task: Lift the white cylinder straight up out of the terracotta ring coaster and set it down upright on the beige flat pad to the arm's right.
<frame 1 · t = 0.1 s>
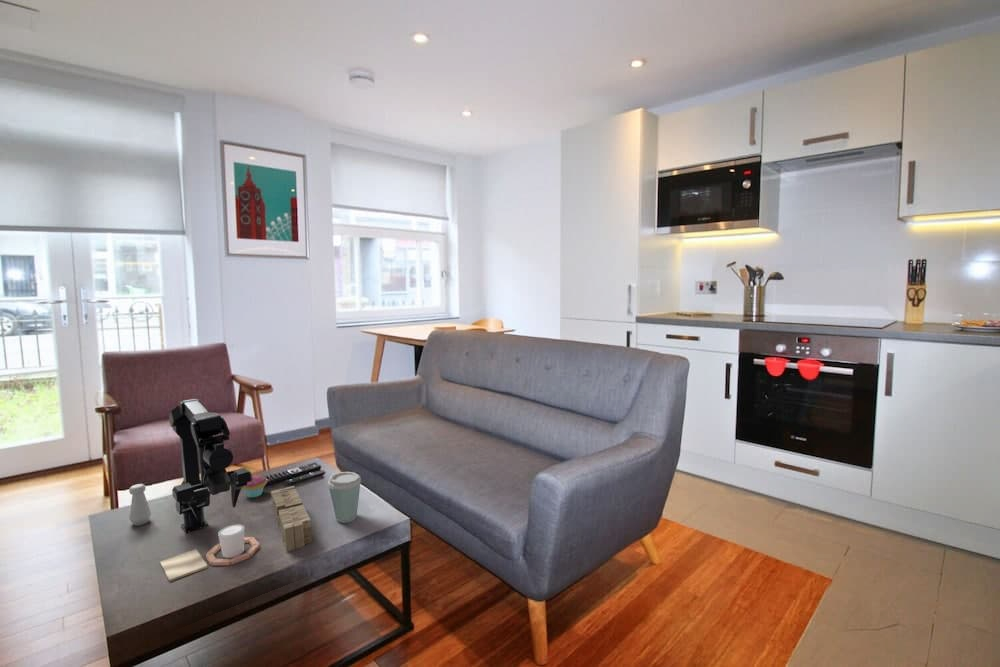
hand: (216, 512, 138), 15 cm above the table, fingers open, 9 cm apart
salt shaker: (141, 523, 163), on the table
white cylinder: (233, 552, 144), resting in ring coaster
cupcake: (255, 495, 182), on the table
beige flat pad: (183, 565, 138), on the table
disposable coffee cup: (346, 519, 163), on the table
ring coaster: (233, 552, 144), on the table
block tower: (291, 528, 158), on the table
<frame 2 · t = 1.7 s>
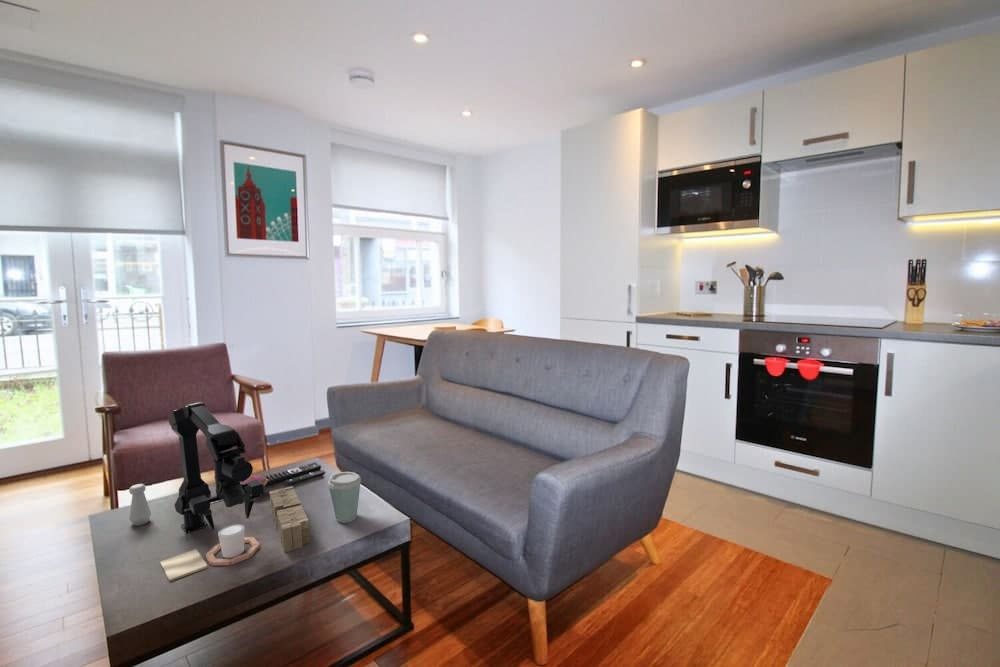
hand: (230, 523, 143), 9 cm above the table, fingers open, 9 cm apart
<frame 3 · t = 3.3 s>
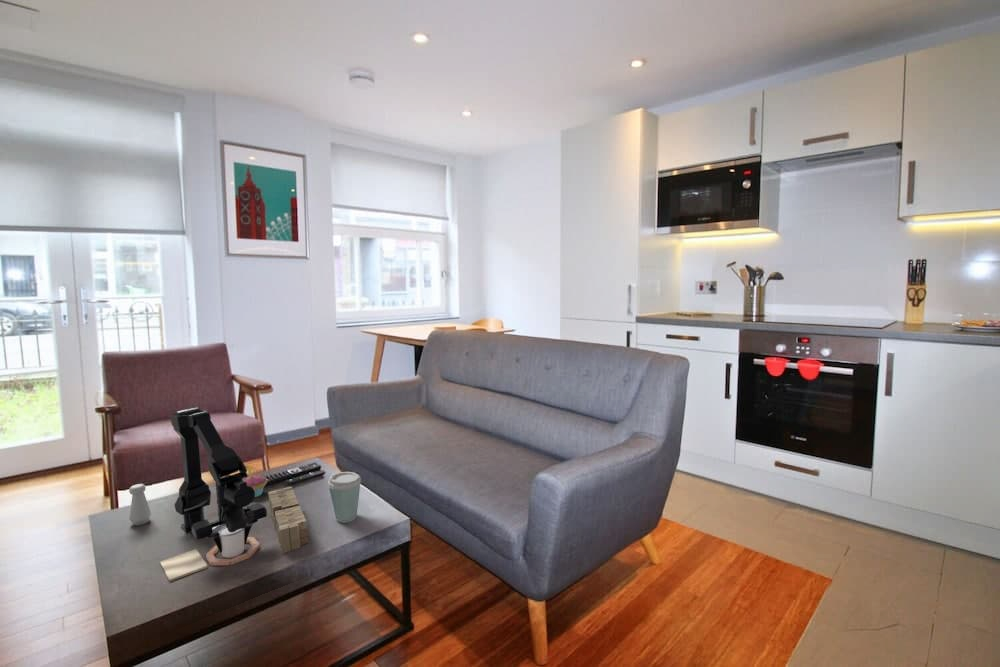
hand: (232, 547, 144), 2 cm above the table, fingers closed on white cylinder, 6 cm apart
white cylinder: (233, 552, 144), resting in ring coaster, touching gripper
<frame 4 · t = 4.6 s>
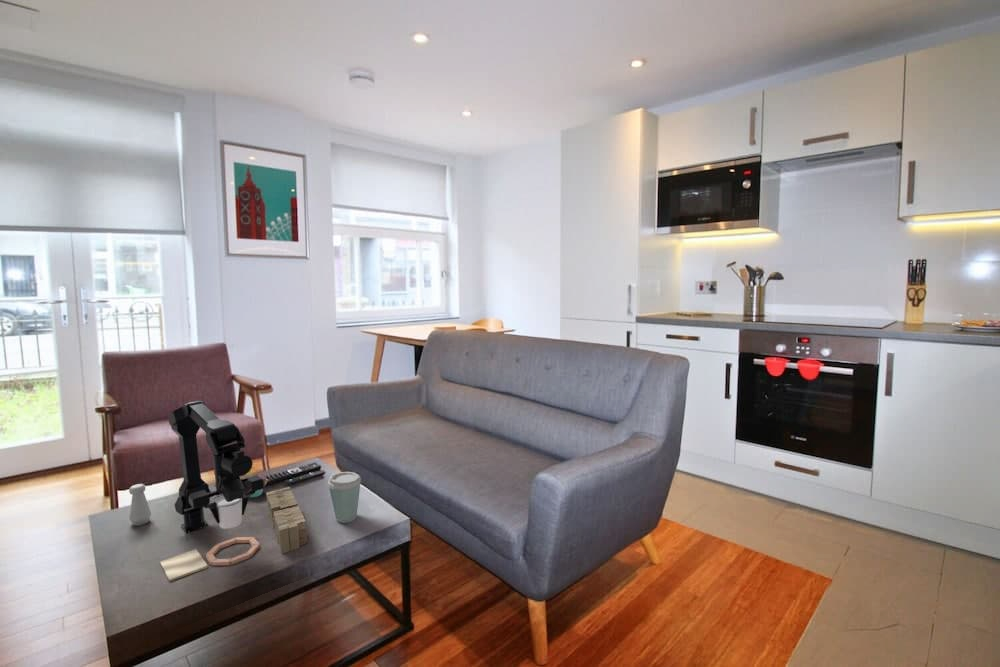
hand: (230, 518, 143), 10 cm above the table, fingers closed on white cylinder, 6 cm apart
white cylinder: (231, 524, 143), point 9 cm above the table, touching gripper
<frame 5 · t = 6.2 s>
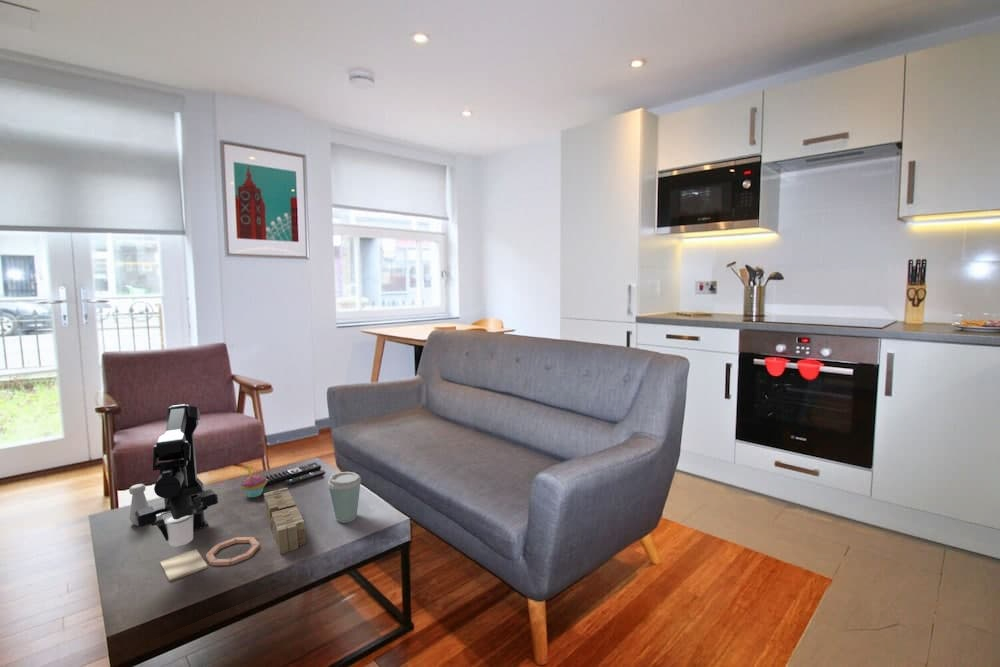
hand: (180, 535, 137), 9 cm above the table, fingers closed on white cylinder, 6 cm apart
white cylinder: (181, 541, 137), point 7 cm above the table, touching gripper
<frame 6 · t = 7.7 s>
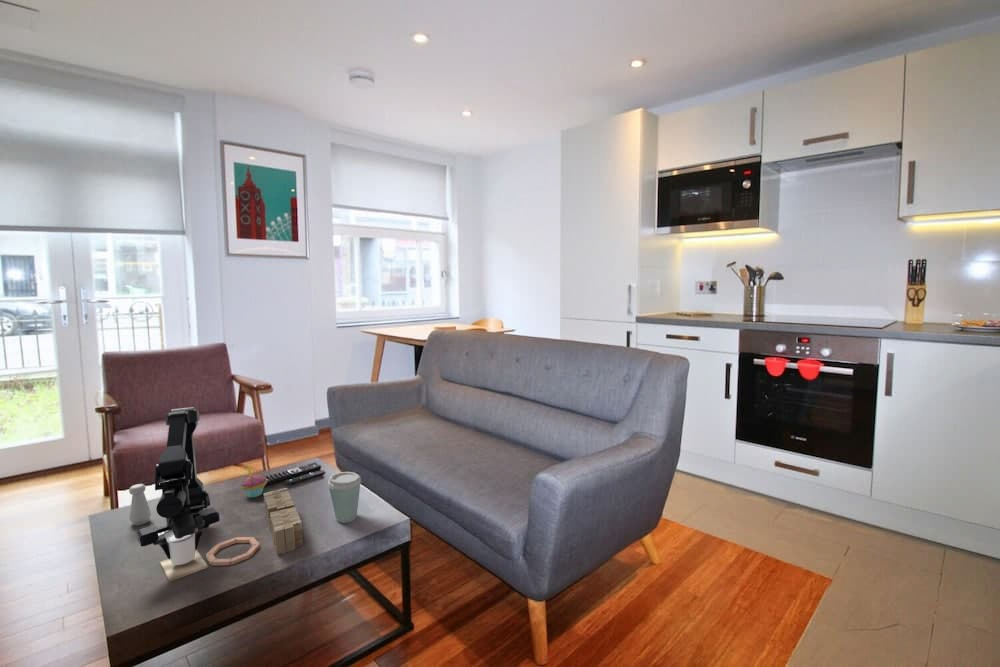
hand: (182, 554, 138), 3 cm above the table, fingers closed on white cylinder, 6 cm apart
white cylinder: (183, 559, 138), point 2 cm above the table, touching gripper
when the fingers open (3 cm above the table, at t = 8.0 s): white cylinder drops 1 cm, resting on beige flat pad.
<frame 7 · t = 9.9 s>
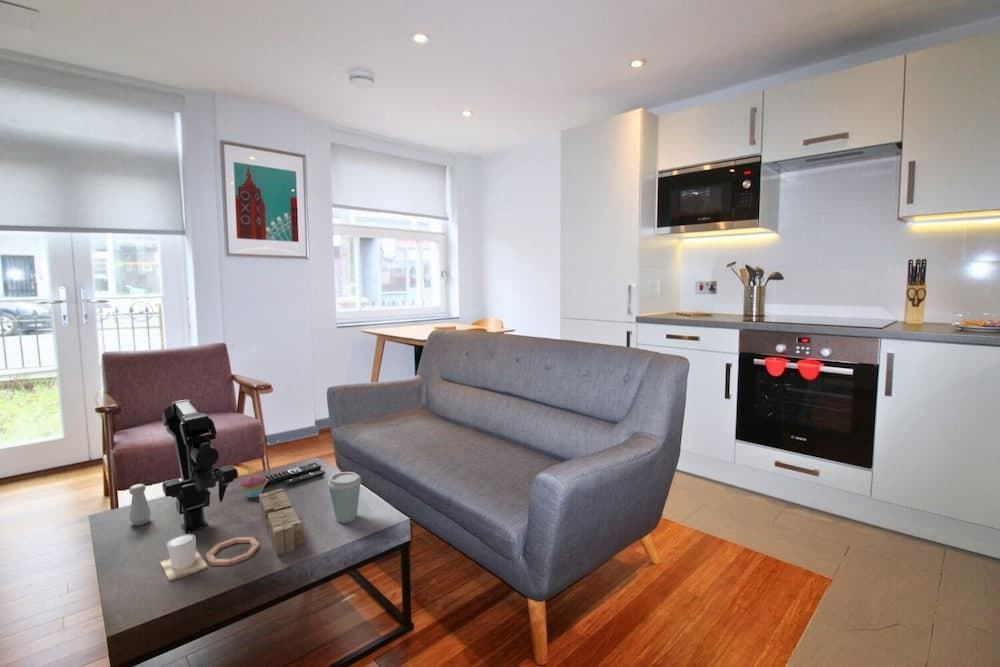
hand: (203, 506, 147), 12 cm above the table, fingers open, 9 cm apart
white cylinder: (183, 564, 138), resting on beige flat pad
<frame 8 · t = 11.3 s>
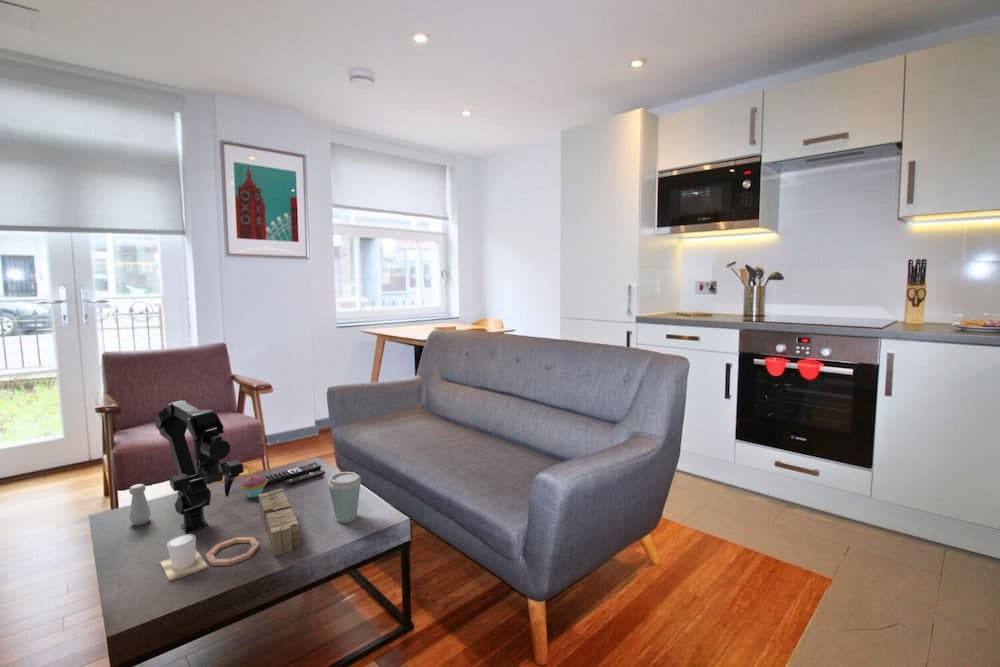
hand: (210, 501, 150), 13 cm above the table, fingers open, 9 cm apart
at the end: white cylinder inside the target area on the beige flat pad (0.1 cm from its centre), point 0.4 cm above the beige flat pad's base; white cylinder tilted 0°; the gripper is holding nothing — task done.
